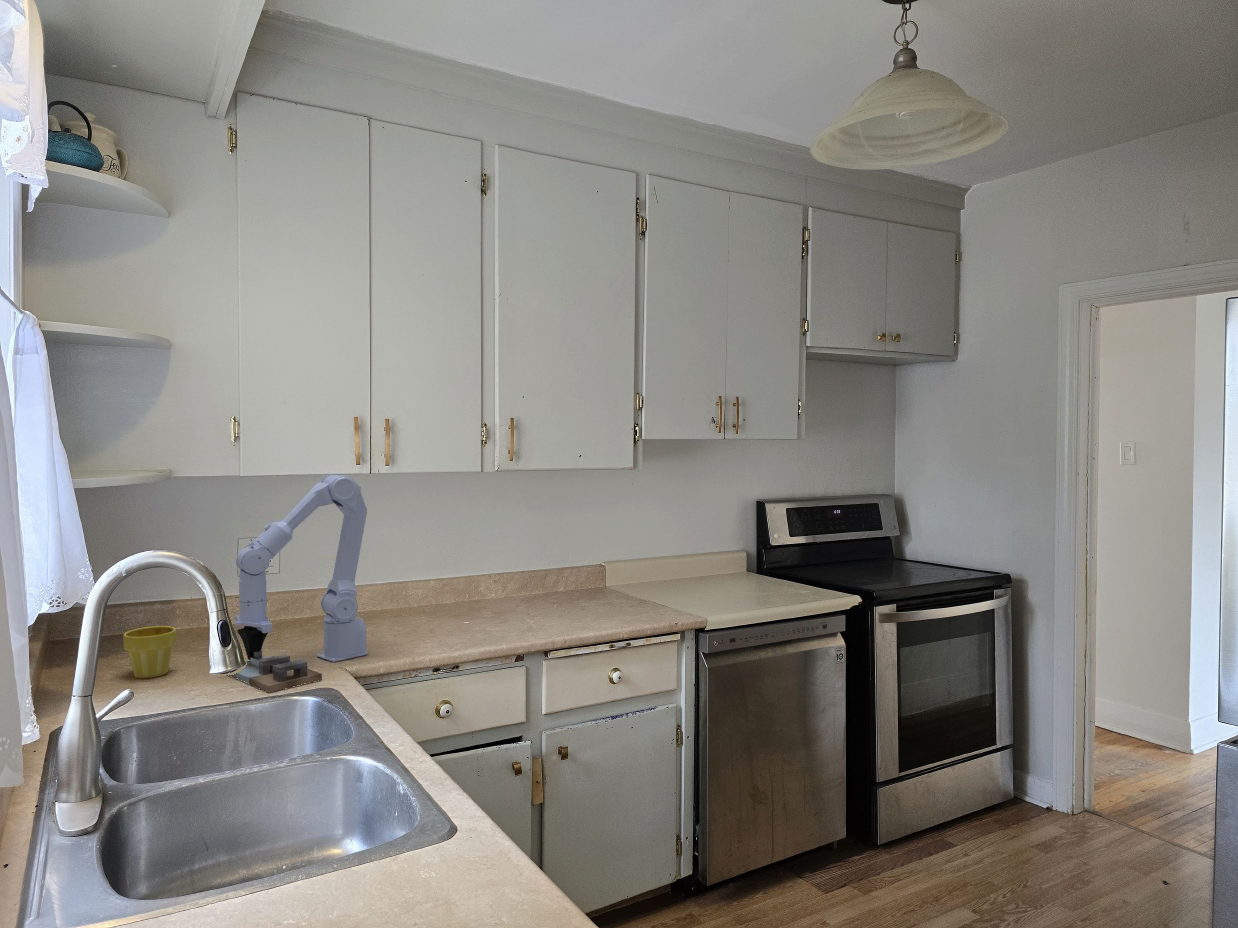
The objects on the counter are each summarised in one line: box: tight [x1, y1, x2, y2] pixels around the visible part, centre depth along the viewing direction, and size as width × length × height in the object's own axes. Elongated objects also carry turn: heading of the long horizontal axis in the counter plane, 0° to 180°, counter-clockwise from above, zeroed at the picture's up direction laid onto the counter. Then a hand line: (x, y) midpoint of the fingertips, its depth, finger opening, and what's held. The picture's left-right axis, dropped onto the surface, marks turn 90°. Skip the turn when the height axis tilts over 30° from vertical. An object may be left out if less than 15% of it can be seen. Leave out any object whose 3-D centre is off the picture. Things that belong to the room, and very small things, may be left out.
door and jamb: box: [229, 654, 323, 694], centre depth 185 cm, size 12×22×4 cm, turn 49°
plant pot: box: [122, 625, 177, 679], centre depth 186 cm, size 10×10×10 cm
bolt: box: [250, 649, 282, 673], centre depth 186 cm, size 2×11×3 cm, turn 49°
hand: (253, 659), depth 190 cm, fingers closed
